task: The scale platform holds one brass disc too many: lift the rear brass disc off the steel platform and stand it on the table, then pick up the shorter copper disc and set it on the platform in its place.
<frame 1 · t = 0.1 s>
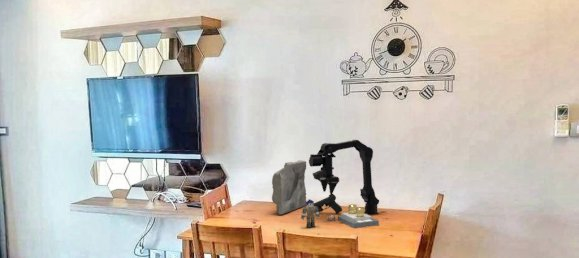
hand: (327, 192, 263), 15 cm above the table, tool pointing down, fingers open, 9 cm apart
scale: (357, 222, 252), on the table
handgun: (326, 213, 276), on the table
toy: (310, 227, 245), on the table
fossil: (290, 210, 288), on the table
brass disc a: (352, 213, 257), point 4 cm above the table, touching scale
brass disc b: (360, 216, 250), point 4 cm above the table, touching scale
copper disc: (331, 220, 259), on the table
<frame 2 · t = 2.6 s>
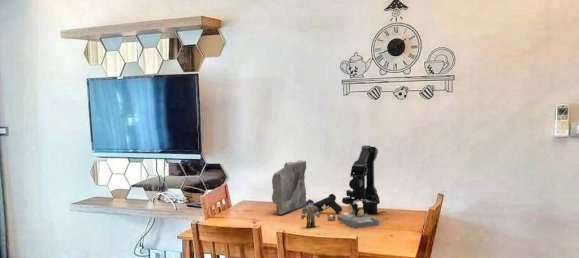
hand: (359, 215, 250), 5 cm above the table, tool pointing down, fingers closed on brass disc b, 4 cm apart
brass disc b: (360, 216, 250), point 4 cm above the table, touching gripper, scale
everything else where it was.
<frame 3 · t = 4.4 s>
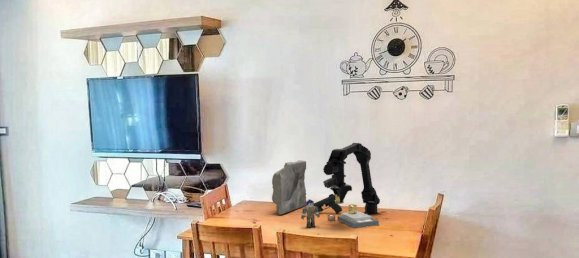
hand: (339, 202, 247), 13 cm above the table, tool pointing down, fingers closed on brass disc b, 4 cm apart
brass disc b: (339, 202, 247), point 12 cm above the table, touching gripper
everything else where it was.
when the fingers open (2 cm above the table, at t = 6.2 s): brass disc b drops 2 cm, on the table.
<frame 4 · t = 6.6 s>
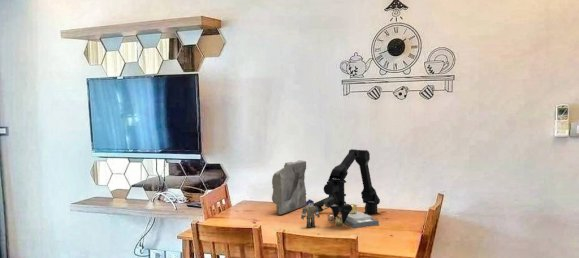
hand: (339, 221, 247), 2 cm above the table, tool pointing down, fingers open, 9 cm apart
brass disc b: (339, 225, 247), on the table
everything else where it was.
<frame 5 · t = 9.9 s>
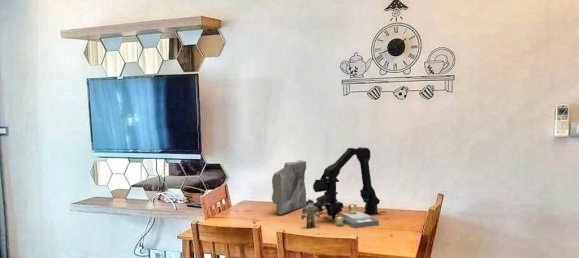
hand: (331, 218, 259), 1 cm above the table, tool pointing down, fingers closed on copper disc, 4 cm apart
copper disc: (331, 220, 259), on the table, touching gripper
everything else where it was.
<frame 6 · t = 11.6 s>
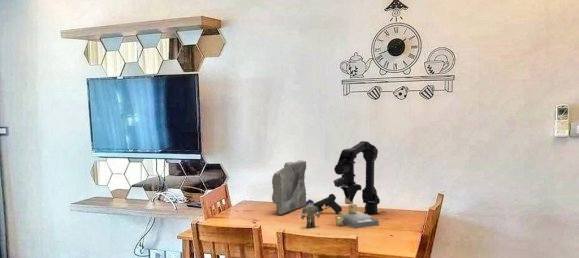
hand: (349, 200, 253), 12 cm above the table, tool pointing down, fingers closed on copper disc, 4 cm apart
copper disc: (349, 203, 253), point 11 cm above the table, touching gripper
everything else where it was.
when the fingers open (6 cm above the table, at t = 13.3 s): copper disc drops 1 cm, resting on scale.
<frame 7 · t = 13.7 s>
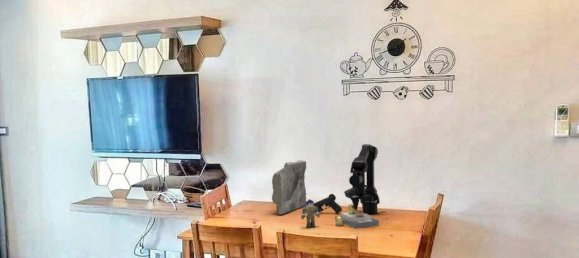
hand: (359, 211, 249), 6 cm above the table, tool pointing down, fingers open, 9 cm apart
copper disc: (359, 216, 250), point 4 cm above the table, touching scale
everything else where it was.
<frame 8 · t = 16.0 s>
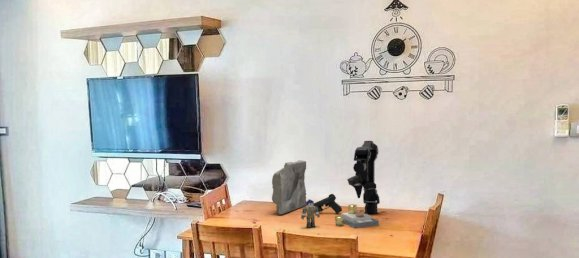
hand: (363, 199, 250), 13 cm above the table, tool pointing down, fingers open, 9 cm apart
nothing on the table moved.
at the end: copper disc inside the target area on the scale (4.2 cm from its centre), point 4.0 cm above the scale's base; brass disc b inside the target area (0.8 cm from its centre), on the table; brass disc a moved 0.0 cm from its start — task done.
